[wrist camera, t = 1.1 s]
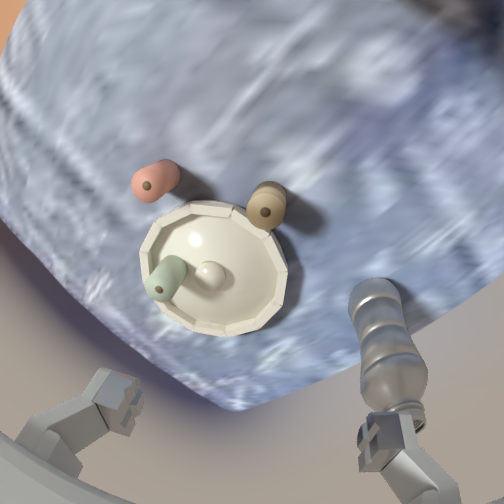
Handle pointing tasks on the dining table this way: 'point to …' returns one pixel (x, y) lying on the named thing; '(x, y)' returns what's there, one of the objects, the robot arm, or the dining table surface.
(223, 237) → the tray
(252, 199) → the bead
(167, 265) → the bead
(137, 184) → the bead
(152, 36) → the dining table surface
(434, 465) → the robot arm
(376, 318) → the silver metal bottle
